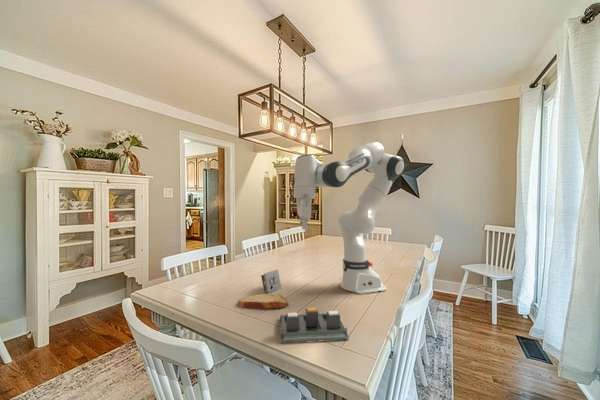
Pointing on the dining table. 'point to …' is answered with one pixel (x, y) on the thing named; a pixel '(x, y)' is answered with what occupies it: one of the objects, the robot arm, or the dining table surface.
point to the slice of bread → (263, 301)
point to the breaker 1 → (292, 322)
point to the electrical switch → (271, 281)
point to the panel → (311, 330)
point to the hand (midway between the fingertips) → (303, 227)
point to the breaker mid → (311, 317)
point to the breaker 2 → (333, 320)
